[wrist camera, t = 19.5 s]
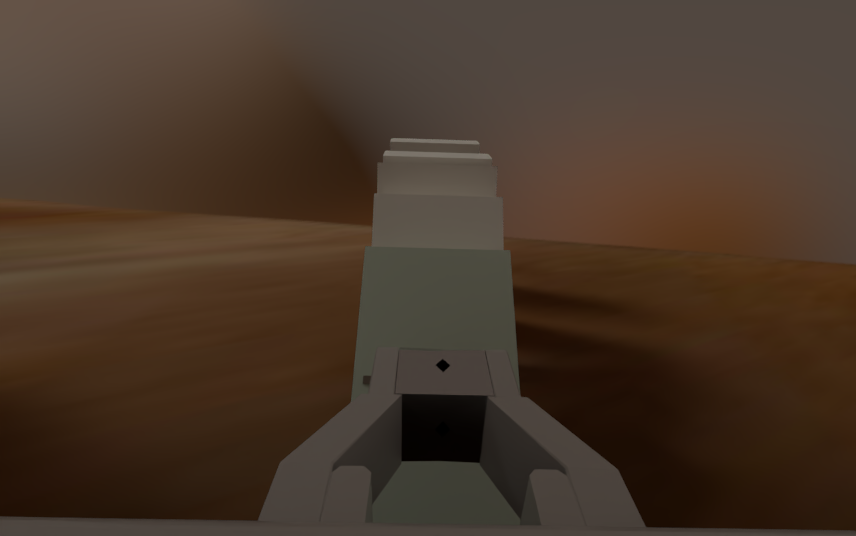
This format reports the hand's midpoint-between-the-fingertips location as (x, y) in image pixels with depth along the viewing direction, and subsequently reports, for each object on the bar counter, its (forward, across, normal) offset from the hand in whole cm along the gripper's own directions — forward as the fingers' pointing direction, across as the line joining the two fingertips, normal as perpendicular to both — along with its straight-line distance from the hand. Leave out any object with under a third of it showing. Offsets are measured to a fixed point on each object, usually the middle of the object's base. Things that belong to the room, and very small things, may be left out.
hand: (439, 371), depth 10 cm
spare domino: (-1, 0, +6) cm, 6 cm away
